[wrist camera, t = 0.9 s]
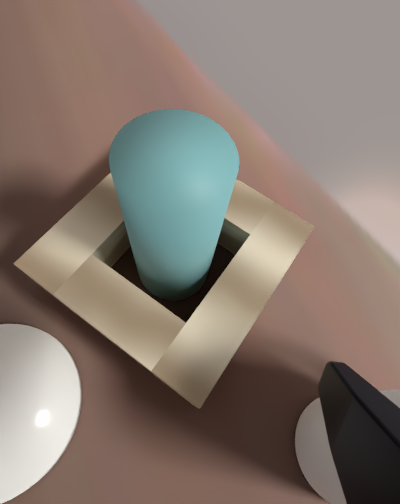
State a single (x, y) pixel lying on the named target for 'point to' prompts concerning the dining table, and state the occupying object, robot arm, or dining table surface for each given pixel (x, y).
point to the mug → (322, 450)
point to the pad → (34, 405)
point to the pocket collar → (150, 311)
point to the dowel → (173, 195)
